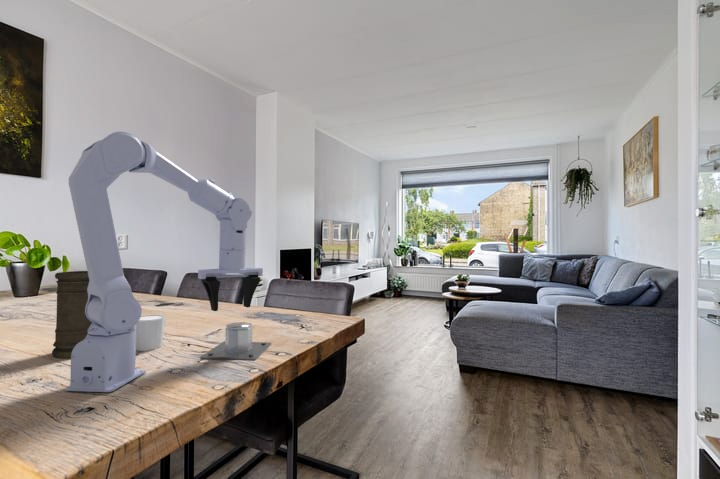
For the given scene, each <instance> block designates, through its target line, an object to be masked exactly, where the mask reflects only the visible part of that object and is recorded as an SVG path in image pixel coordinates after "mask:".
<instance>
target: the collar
mask: <svg viewBox="0 0 720 479" xmlns="http://www.w3.org/2000/svg"><path fill="white" fill-rule="evenodd" d="M252 342H253V324H252V323H250V322H246V321H245V322H242V321H241V322H238V321H237V322H231V323H229V324H226V326H225V350H226V351H227V352H229V353H241V352H247V351H249V350H251V349H252Z"/></svg>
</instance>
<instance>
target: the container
mask: <svg viewBox="0 0 720 479" xmlns="http://www.w3.org/2000/svg"><path fill="white" fill-rule="evenodd" d="M54 278H55V279H56V284H57V289H56V290H57V291H56V322H55V323H56V324H55V330H54V333H55V339H54V342H53V344H52V346H53V347H54V348H53V349H52V350H51V354H52V356H53V357H54V358H58V359H71V354H72V350H73V348H74V347H75V346H76V345H77V344H78V343H79V342H81V341H83V340H84V339H85V338H86V336H87V334H88V329H89V327H90V325H91V324H92V322H91V321H90V320H89V319H88V318H87V316H86V314H85V307H86V304H87V301H88V292H87V288H88V284H89V276H88V271H87V270H78V271H77V270H76V271H60V272H56V273H55V274H54Z"/></svg>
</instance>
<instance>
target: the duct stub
mask: <svg viewBox="0 0 720 479" xmlns="http://www.w3.org/2000/svg"><path fill="white" fill-rule="evenodd" d="M271 345H272V342H264V341H261V342H260V341H252V349H251V350H249V351H247V352H241V353H229V352H227V351H226V350H225V341H222V342H221V343H219V344H218V345H216V346H215V347H213V348H211V349H210V350H208V351H207V352H205V353H203V354H202V355H201V356H200V359H207V360H208V359H211V360H240V361H241V360H243V361H244V360H247V361H249V360H250V361H256V360H257V359H258V358H260V356H261V355H262V354H263V353H265V351H266V350H268V348H269V347H270V346H271Z"/></svg>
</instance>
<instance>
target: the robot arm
mask: <svg viewBox="0 0 720 479" xmlns="http://www.w3.org/2000/svg"><path fill="white" fill-rule="evenodd" d="M126 172H128V173H133V174H134V173H136V174H137V173H144V174H151V175H153V176H156V177H157V178H159V179H161V180H163V181H165V182H166V183H169V184H171V185H172V186H175V187H176V188H178V189H180V190H182V191H184V192H186V193H187V195H188V199H189V201H190V202H192V203H194V204H196V205H197V206H199V207H201V209H202V208H203V209H204V210H206V211H208V212H210V213H211V214H213V215H215V217H216V219H217V220H218V222H219V248H218V249H219V254H218V257H219V258H218V268H207V269H198V270H197V279H200V280H201V283H202V285H203V287H204V289H205V292H206V295H207V297H208V299H209V300H208V301H209V304H210V309H211V311H213V312H218V310H219V291H220V287H221V286H220V285H221V281H220V280H219V279H220V278H221V279H223V278H224V279H225V278H241V279H242V287H243V288H242V290H243V297H242V298H243V301H242V302H243V303H242V304H243V305H242V306H243V307H245V308H250V307H251V303H252V300H253V296H254V295H255V292H256V289H257V288H258V287H259V284H260V282H261V277H263V272H264V271H263V270H264V268H263V267H246V247H247V246H246V242H247V228H248V222H249V220H251V217H252V213H253V211H252V210H250V209H251V208H250V206H249V204H248V202H247V201H246V200H244V199H243V198H240V197H234V195H233V193H232V192H230V191H228V192H227V191H225V190H224V189H222V188H221V187H220V186H218V185H216V183H217V182H216V181H215V180H214V179H211V178H210V179H207V178H201V179H197V178H195V176H192V175H191V174H190V173H188V172H187V171H185V170H184V169H182V168H181V167H179V166H178V165H177V164H175V163H173V162H172V161H171V160H170V159H168V158H166V157H165V156H164V155H162V154H161V153H159V152H158V151H157V150H156V149H154V147H152V145H151V144H150V143H147V142H145V141H143V140H140V139H139V138H137V137H136V136H135V135H133V134H132V133H129V132H125V131H115V132H112V133H110V134H108V135H107V136H105V137H104V138H103V139H100V140H98V141H95V142H94V143H92V144H91V145H89V146H87V148H85V149H83V150H82V152H81V156H80V158H79V159H78V161H77V163H76V165H75V167H74V168H73V169H72V171H71V174H70V175H69V177H68V187H69V192H70V195H71V200H72V201H71V202H72V205H73V210H74V214H75V215H74V216H75V220H76V224H77V228H78V233H79V238H80V242H81V243H80V244H81V248H82V252H83V257H84V261H85V266H86V271H88V276H89V284H88V288H87V292H88V301H87V304H86V307H85V314H86V316H87V318H88V319H89V320H90V321H91V322H92V324H91V325H90V327H89V329H88V334H87V336H86V338H85V339H84V340H83V341H81V342H79V343H78V344H77V345H76V346H75V347H74V348H73V350H72V354H71V358H70V382H69V383H70V384H69V386H67V387H65V389H64V391H65V392H87V393H89V392H90V393H91V392H92V393H94V392H95V393H112V392H114V391H115V390H117V389H119V388H120V387H122V386H125V385H126V384H128V383H129V382H131V381H133V380H136V379H137V378H138V377H140V376H142V375H144V374H146V373H147V369H139V368H137V369H136V355H137V354H136V351H137V350H136V324H137V323H138V321H139V319H140V317H142V313H143V312H142V306H141V304H140V302H139V301H138V300H137V299H136V298H135V297H134V294H133V292H132V287H131V285H130V283H129V282H128V280H127V279H126V277H125V273H124V269H123V264H122V259H121V253H120V250H119V244H118V240H117V235H116V229H115V224H114V218H113V214H112V209H111V204H110V200H109V195H108V190H107V189H108V188H109V186H110V185H112V184H113V183H114V182H115V181H116V180H117V179H118V178H120V176H121V175H122V174H124V173H126Z"/></svg>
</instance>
